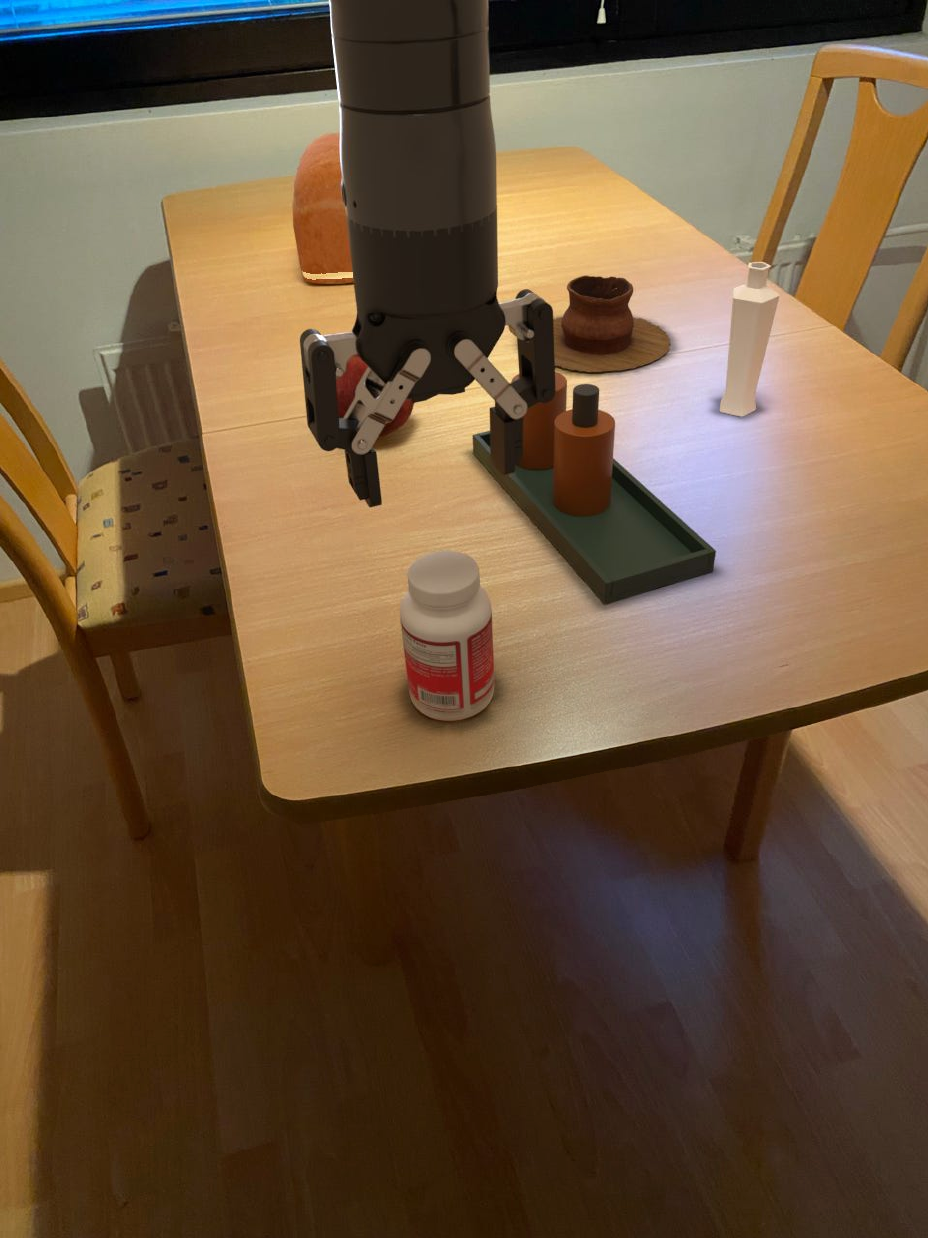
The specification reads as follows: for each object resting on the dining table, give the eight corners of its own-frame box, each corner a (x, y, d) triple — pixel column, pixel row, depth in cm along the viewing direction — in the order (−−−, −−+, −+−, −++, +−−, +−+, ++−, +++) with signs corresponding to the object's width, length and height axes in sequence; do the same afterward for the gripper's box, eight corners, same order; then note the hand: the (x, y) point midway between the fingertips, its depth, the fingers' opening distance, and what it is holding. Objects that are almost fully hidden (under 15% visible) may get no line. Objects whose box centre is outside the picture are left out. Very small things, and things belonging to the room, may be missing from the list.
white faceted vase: (765, 403, 99) (790, 261, 90) (751, 420, 97) (775, 275, 87) (723, 394, 101) (744, 254, 92) (708, 410, 99) (728, 268, 89)
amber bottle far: (550, 439, 94) (552, 334, 87) (574, 462, 90) (578, 355, 83) (503, 451, 93) (501, 345, 86) (525, 475, 89) (525, 366, 82)
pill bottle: (477, 656, 70) (471, 534, 63) (507, 710, 65) (505, 585, 58) (398, 678, 68) (383, 556, 61) (424, 734, 64) (411, 609, 57)
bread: (299, 288, 133) (281, 169, 123) (309, 232, 153) (294, 125, 143) (395, 281, 133) (385, 162, 123) (393, 226, 153) (383, 120, 143)
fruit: (304, 427, 100) (289, 337, 93) (381, 399, 104) (372, 311, 98) (357, 465, 93) (344, 371, 87) (437, 433, 97) (431, 341, 91)
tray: (563, 431, 97) (563, 412, 95) (713, 571, 77) (716, 550, 76) (472, 453, 94) (472, 434, 93) (604, 604, 74) (605, 583, 73)
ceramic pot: (627, 305, 122) (631, 250, 118) (698, 356, 109) (706, 296, 105) (500, 329, 118) (499, 273, 114) (559, 385, 105) (560, 324, 101)
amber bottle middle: (592, 481, 88) (598, 371, 81) (620, 507, 84) (629, 395, 77) (543, 494, 86) (544, 383, 79) (569, 521, 82) (573, 408, 75)
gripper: (299, 245, 41) (343, 545, 52) (585, 199, 45) (572, 487, 55) (262, 202, 47) (308, 481, 57) (520, 164, 51) (519, 432, 61)
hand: (438, 484), depth 56 cm, fingers open, 8 cm apart
